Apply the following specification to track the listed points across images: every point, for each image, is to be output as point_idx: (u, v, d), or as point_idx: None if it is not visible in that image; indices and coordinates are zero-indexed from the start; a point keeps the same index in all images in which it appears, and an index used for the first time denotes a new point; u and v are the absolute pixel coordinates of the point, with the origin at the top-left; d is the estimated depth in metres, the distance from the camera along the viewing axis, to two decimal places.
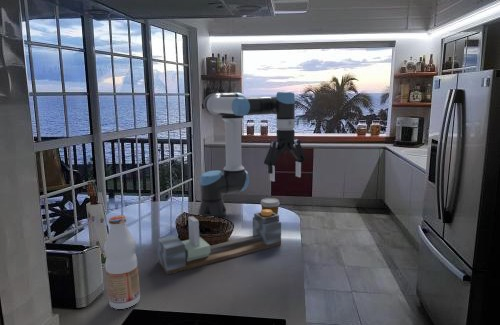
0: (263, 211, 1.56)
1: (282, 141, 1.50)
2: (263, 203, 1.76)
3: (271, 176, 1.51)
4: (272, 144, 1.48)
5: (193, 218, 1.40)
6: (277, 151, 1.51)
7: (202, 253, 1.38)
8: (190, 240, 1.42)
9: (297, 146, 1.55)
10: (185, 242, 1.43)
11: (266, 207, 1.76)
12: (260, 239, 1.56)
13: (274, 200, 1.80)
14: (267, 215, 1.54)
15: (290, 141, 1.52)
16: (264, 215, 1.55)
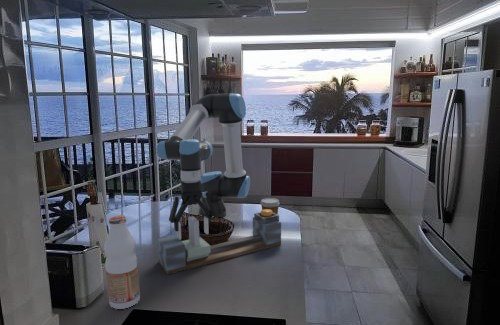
0: (263, 211, 1.56)
1: (186, 194, 1.36)
2: (263, 203, 1.76)
3: (178, 234, 1.38)
4: (174, 200, 1.34)
5: (193, 218, 1.40)
6: (182, 206, 1.37)
7: (202, 253, 1.38)
8: (190, 240, 1.42)
9: (206, 199, 1.41)
10: (185, 242, 1.43)
11: (266, 207, 1.76)
12: (260, 239, 1.56)
13: (274, 200, 1.80)
14: (267, 215, 1.54)
15: (197, 193, 1.38)
16: (264, 215, 1.55)
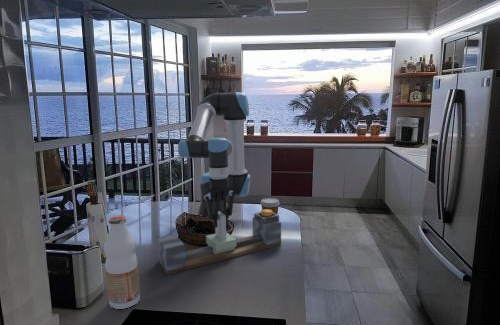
0: (263, 211, 1.56)
1: (213, 190, 1.41)
2: (263, 203, 1.76)
3: (216, 229, 1.46)
4: (205, 199, 1.41)
5: (220, 213, 1.46)
6: (214, 203, 1.43)
7: (229, 246, 1.44)
8: (216, 234, 1.48)
9: (229, 197, 1.46)
10: (212, 236, 1.49)
11: (266, 207, 1.76)
12: (260, 239, 1.56)
13: (274, 200, 1.80)
14: (267, 215, 1.54)
15: (225, 188, 1.44)
16: (264, 215, 1.55)
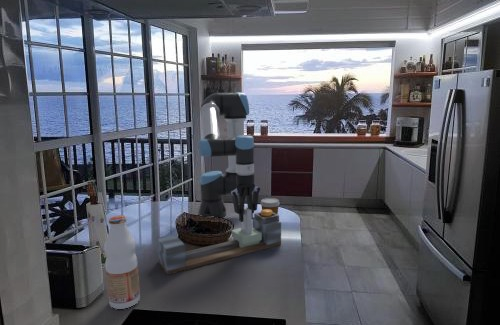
0: (263, 211, 1.56)
1: (240, 185, 1.47)
2: (263, 203, 1.76)
3: (242, 224, 1.52)
4: (233, 194, 1.46)
5: (245, 208, 1.52)
6: (241, 198, 1.49)
7: (254, 240, 1.50)
8: None
9: (255, 193, 1.52)
10: (237, 230, 1.54)
11: (266, 207, 1.76)
12: None
13: (274, 200, 1.80)
14: (267, 215, 1.54)
15: (251, 183, 1.49)
16: (264, 215, 1.55)
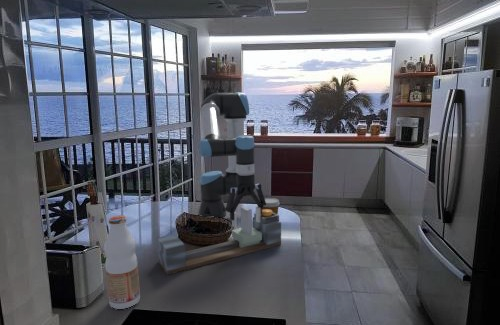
0: (263, 211, 1.56)
1: (241, 186, 1.47)
2: None
3: (233, 222, 1.49)
4: (231, 191, 1.46)
5: (246, 208, 1.52)
6: (237, 197, 1.48)
7: (255, 240, 1.50)
8: (242, 228, 1.54)
9: (258, 190, 1.52)
10: (237, 230, 1.54)
11: (266, 207, 1.76)
12: None
13: (274, 200, 1.80)
14: (267, 215, 1.54)
15: (250, 185, 1.49)
16: (264, 215, 1.55)
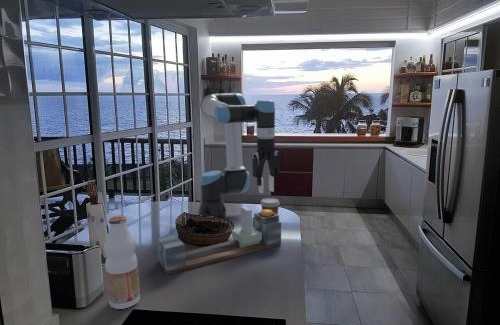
0: (263, 211, 1.56)
1: (261, 149, 1.49)
2: (263, 203, 1.76)
3: (260, 188, 1.53)
4: (253, 157, 1.48)
5: (246, 208, 1.52)
6: (260, 162, 1.51)
7: (255, 240, 1.50)
8: (242, 228, 1.54)
9: (275, 157, 1.54)
10: (237, 230, 1.54)
11: (266, 207, 1.76)
12: None
13: (274, 200, 1.80)
14: (267, 215, 1.54)
15: (271, 148, 1.52)
16: (264, 215, 1.55)
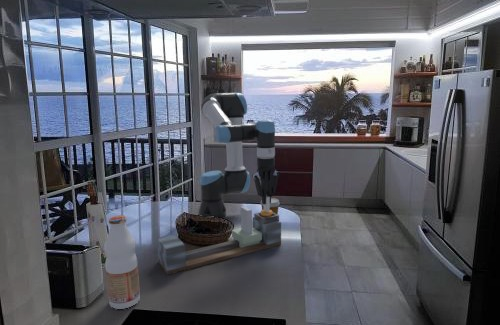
0: (263, 211, 1.56)
1: (261, 169, 1.51)
2: None
3: (265, 206, 1.56)
4: (255, 178, 1.50)
5: (246, 208, 1.52)
6: (262, 181, 1.53)
7: (255, 240, 1.50)
8: (242, 228, 1.54)
9: (274, 177, 1.56)
10: (237, 230, 1.54)
11: None
12: None
13: (274, 200, 1.80)
14: (267, 215, 1.54)
15: (272, 167, 1.53)
16: (264, 215, 1.55)
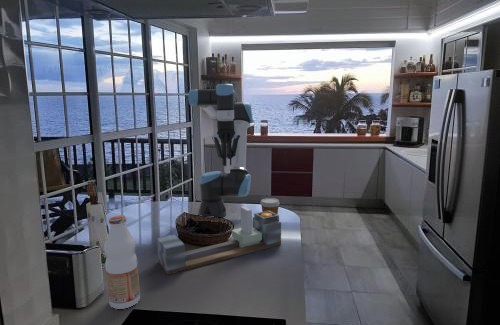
0: (263, 214, 1.57)
1: (220, 131, 1.56)
2: (263, 203, 1.76)
3: (225, 168, 1.62)
4: (214, 140, 1.56)
5: (246, 208, 1.52)
6: (222, 143, 1.59)
7: (255, 240, 1.50)
8: (242, 228, 1.54)
9: (234, 140, 1.61)
10: (237, 230, 1.54)
11: (266, 207, 1.76)
12: None
13: (274, 200, 1.80)
14: None
15: (232, 130, 1.59)
16: None
